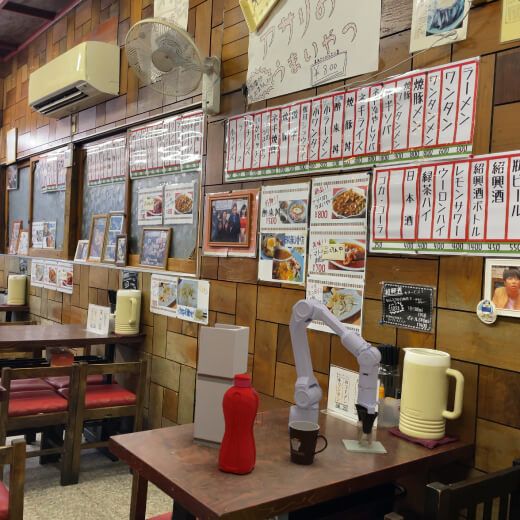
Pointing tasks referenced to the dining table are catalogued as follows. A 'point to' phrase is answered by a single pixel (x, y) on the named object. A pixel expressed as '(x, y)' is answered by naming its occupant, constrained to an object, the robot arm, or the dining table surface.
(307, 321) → the robot arm
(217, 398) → the grey tall box
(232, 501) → the dining table surface
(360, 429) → the wooden stool
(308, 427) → the coffee mug
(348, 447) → the rubber mat
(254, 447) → the water bottle
